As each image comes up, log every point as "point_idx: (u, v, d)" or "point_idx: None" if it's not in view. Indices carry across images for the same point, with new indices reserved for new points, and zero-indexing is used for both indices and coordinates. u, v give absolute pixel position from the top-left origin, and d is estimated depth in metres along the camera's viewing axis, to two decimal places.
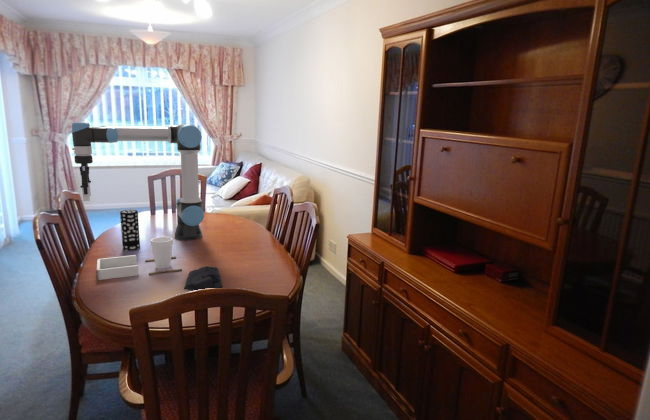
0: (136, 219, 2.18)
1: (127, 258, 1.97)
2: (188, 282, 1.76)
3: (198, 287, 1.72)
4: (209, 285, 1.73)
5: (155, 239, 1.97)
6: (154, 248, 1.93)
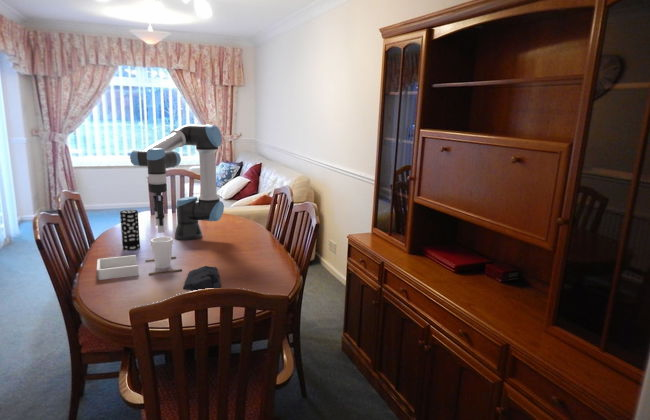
0: (136, 219, 2.18)
1: (127, 258, 1.97)
2: (187, 282, 1.76)
3: (197, 286, 1.72)
4: (208, 285, 1.73)
5: (155, 239, 1.97)
6: (154, 248, 1.93)
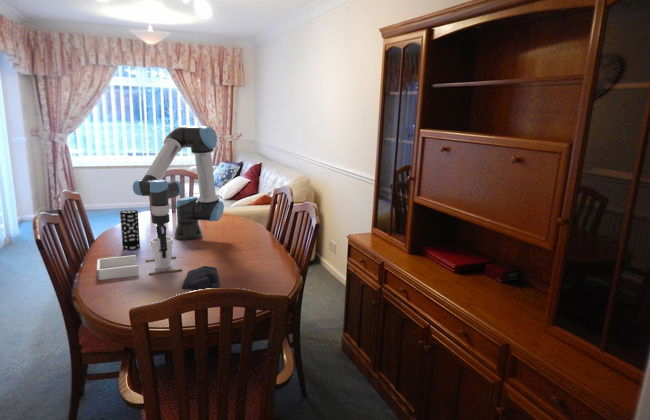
0: (136, 219, 2.18)
1: (127, 258, 1.97)
2: (186, 282, 1.76)
3: (195, 286, 1.72)
4: (206, 285, 1.73)
5: (155, 239, 1.97)
6: (154, 248, 1.93)
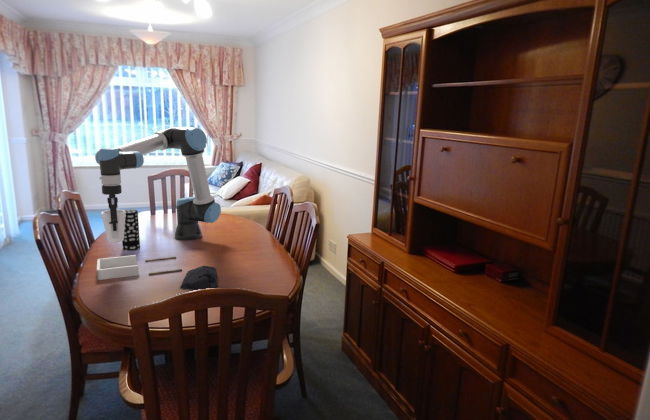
0: (136, 219, 2.18)
1: (127, 258, 1.97)
2: (184, 281, 1.77)
3: (194, 286, 1.72)
4: (205, 285, 1.73)
5: (107, 212, 1.86)
6: (104, 221, 1.81)
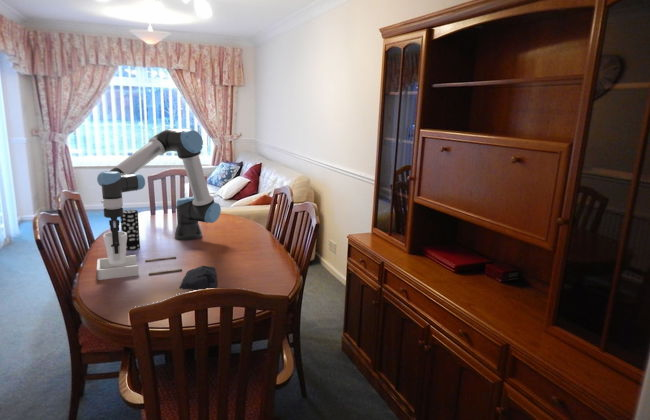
0: (136, 219, 2.18)
1: (127, 258, 1.97)
2: (184, 281, 1.77)
3: (193, 286, 1.72)
4: (204, 285, 1.73)
5: (109, 234, 1.88)
6: (106, 243, 1.83)
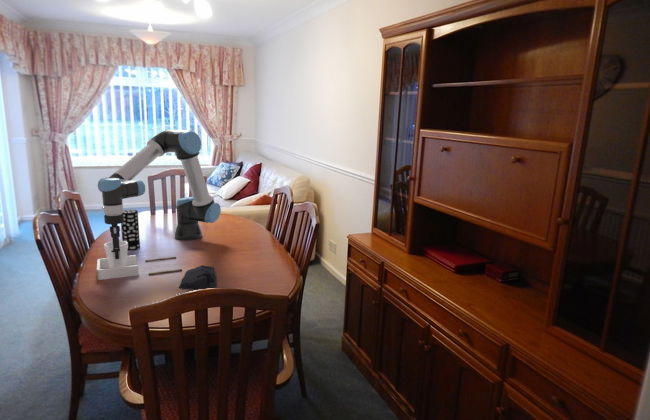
0: (136, 219, 2.18)
1: (127, 258, 1.97)
2: (183, 281, 1.77)
3: (192, 286, 1.72)
4: (203, 284, 1.73)
5: (109, 243, 1.89)
6: (107, 253, 1.84)
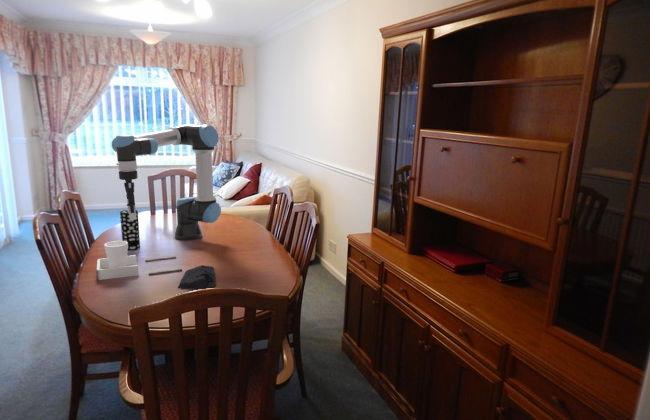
0: (136, 219, 2.18)
1: (127, 258, 1.97)
2: (182, 281, 1.77)
3: (191, 286, 1.73)
4: (202, 284, 1.73)
5: (109, 243, 1.89)
6: (107, 253, 1.84)
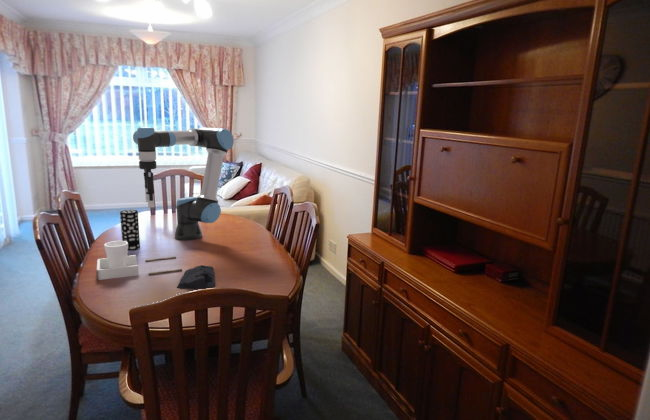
0: (136, 219, 2.18)
1: (127, 258, 1.97)
2: (181, 281, 1.77)
3: (191, 286, 1.73)
4: (201, 284, 1.73)
5: (110, 243, 1.89)
6: (107, 253, 1.84)
